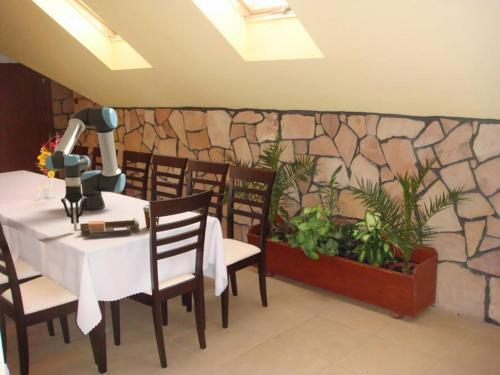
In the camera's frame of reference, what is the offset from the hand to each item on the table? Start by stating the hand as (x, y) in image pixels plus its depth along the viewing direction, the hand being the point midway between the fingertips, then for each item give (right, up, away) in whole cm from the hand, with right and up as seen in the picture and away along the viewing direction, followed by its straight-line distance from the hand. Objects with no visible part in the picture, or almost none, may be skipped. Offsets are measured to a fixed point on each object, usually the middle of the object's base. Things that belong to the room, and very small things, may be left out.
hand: (75, 229), depth 271 cm
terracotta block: (+10, -2, +4) cm, 11 cm away
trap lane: (+17, -2, +4) cm, 18 cm away
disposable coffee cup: (+38, 0, +13) cm, 40 cm away
